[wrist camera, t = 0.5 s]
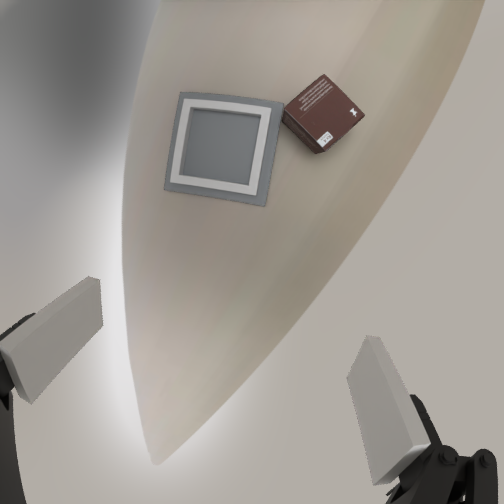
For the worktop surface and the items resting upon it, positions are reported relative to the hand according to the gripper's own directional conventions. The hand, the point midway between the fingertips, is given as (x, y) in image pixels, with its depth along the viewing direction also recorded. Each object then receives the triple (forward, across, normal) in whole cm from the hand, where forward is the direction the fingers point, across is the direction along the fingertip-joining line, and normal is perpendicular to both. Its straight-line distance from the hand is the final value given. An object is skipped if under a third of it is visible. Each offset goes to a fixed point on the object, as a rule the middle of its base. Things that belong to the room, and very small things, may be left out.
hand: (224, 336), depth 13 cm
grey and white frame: (+24, -6, +9) cm, 27 cm away
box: (+24, +5, +14) cm, 29 cm away
